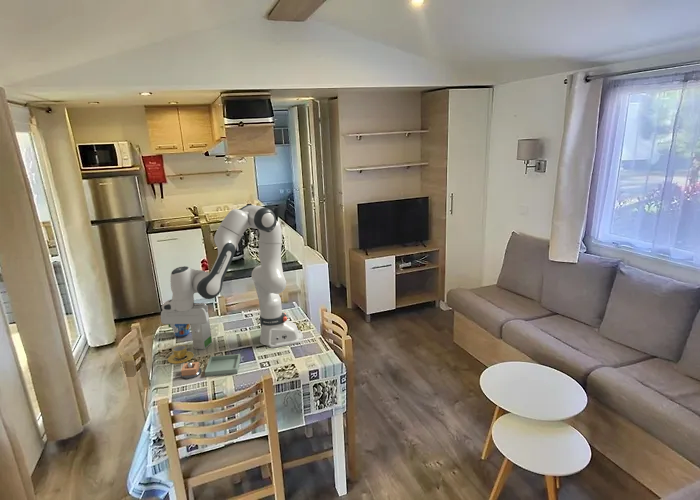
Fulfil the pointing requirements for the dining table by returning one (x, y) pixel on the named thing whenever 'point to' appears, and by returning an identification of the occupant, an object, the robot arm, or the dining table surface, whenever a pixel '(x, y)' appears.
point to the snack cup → (182, 329)
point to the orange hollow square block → (190, 369)
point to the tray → (223, 365)
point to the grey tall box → (201, 336)
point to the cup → (180, 354)
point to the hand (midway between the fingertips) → (186, 332)
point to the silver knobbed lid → (191, 375)
